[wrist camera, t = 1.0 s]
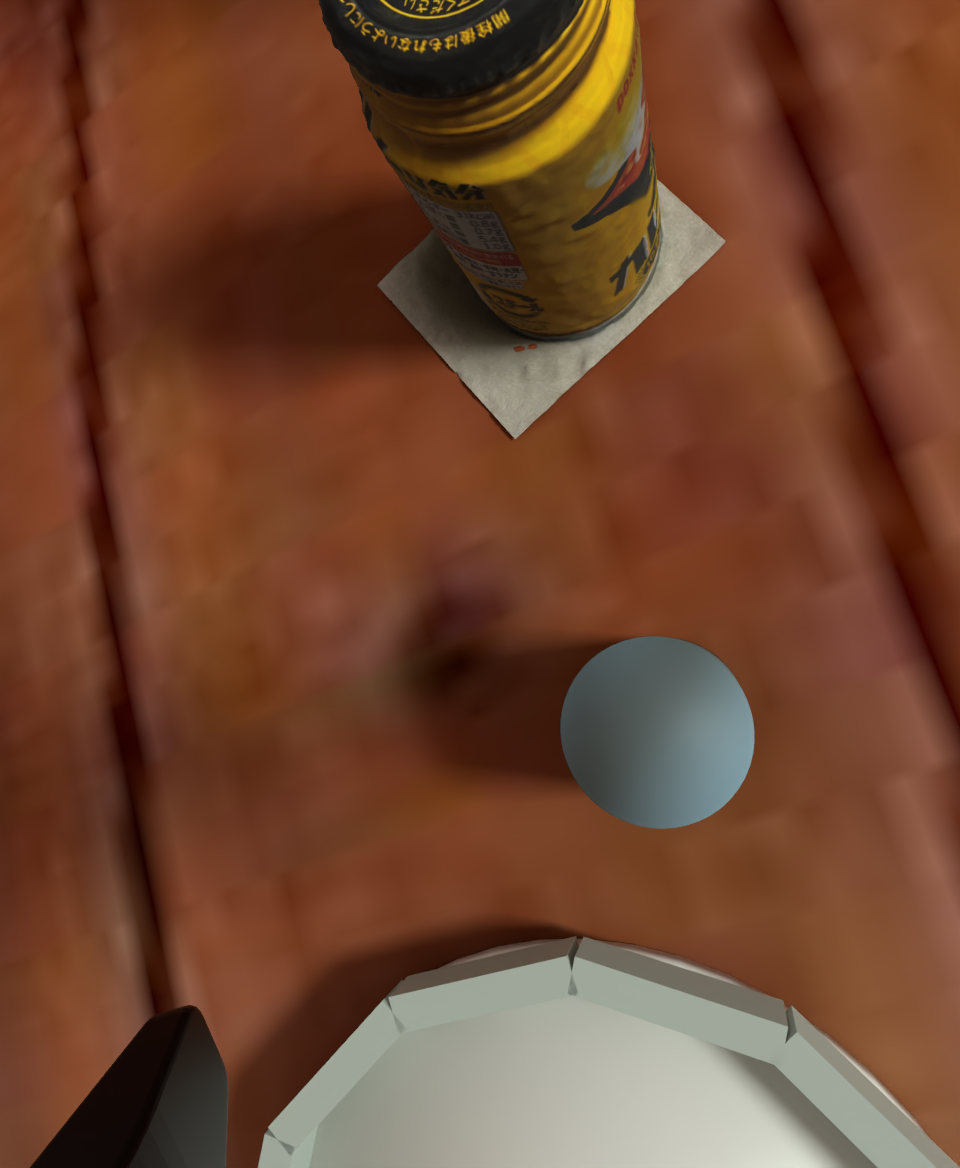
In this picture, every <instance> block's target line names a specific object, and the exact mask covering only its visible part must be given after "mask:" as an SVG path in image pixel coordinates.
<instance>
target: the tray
mask: <svg viewBox="0 0 960 1168" xmlns="http://www.w3.org/2000/svg"><path fill="white" fill-rule="evenodd" d="M268 1128H269V1130H268V1131H267V1132H266V1133H265V1135H264V1140H263V1145H262V1150H261V1155H260V1160H259V1165H258V1168H960V1167H959V1166H958V1165H957V1164H956V1163H955V1162H954V1161H953V1160H952V1159H951V1158H950V1157H948V1156H947V1155H946V1154H945V1153H944V1152H943V1151H942V1150H941V1149H940V1148H939V1147H938V1146H937V1145H936V1144H935V1143H934V1142H933V1141H932V1140H931V1139H930V1138H929V1137H928V1135H927V1134H926V1133H925V1131H924V1130H923V1129H922V1127H921V1126H920V1124H919V1123H918V1122H917V1120H916V1119H915V1118H914V1117H913V1116H912V1115H911V1113H910V1112H909V1111H908V1110H907V1109H906V1108H905V1107H904V1106H903V1105H902V1104H901V1103H900V1102H899V1101H898V1100H897V1099H896V1097H895V1096H894V1095H893V1094H892V1093H891V1092H890V1091H889V1090H888V1089H887V1088H886V1087H885V1086H884V1085H883V1084H882V1082H881V1081H880V1080H879V1079H878V1078H877V1077H876V1076H875V1075H874V1074H873V1073H872V1072H871V1071H870V1070H869V1069H868V1068H866V1067H865V1066H864V1065H863V1064H862V1063H861V1062H859V1061H858V1060H857V1059H856V1058H855V1057H854V1056H852V1055H851V1054H850V1053H849V1052H848V1051H847V1050H845V1049H844V1048H843V1047H842V1046H841V1045H840V1044H838V1043H837V1042H836V1041H835V1040H834V1039H833V1038H831V1037H830V1036H829V1035H828V1034H827V1033H825V1032H824V1031H822V1030H821V1029H820V1028H818V1027H817V1026H815V1025H814V1024H812V1023H811V1022H809V1021H808V1020H806V1019H805V1018H804V1017H803V1016H802V1015H801V1014H800V1013H799V1012H798V1011H797V1010H796V1009H795V1008H794V1007H793V1006H792V1005H791V1006H790V1007H787V1006H786V1005H784V1002H783V1000H780V999H777V998H774V997H771V996H769V995H767V994H765V993H763V992H761V991H759V990H757V989H756V988H754V987H752V986H750V985H748V984H746V983H744V982H742V981H740V980H739V979H737V978H735V977H733V976H731V975H729V974H726V973H723V972H721V971H718V970H716V969H713V968H710V967H708V966H705V965H703V964H700V963H697V962H695V961H692V960H690V959H687V958H684V957H682V956H678V955H674V954H670V953H666V952H662V951H658V950H654V949H650V948H646V947H642V946H638V945H634V944H627V943H619V942H610V941H601V940H593V939H590V938H587V937H583V939H577V937H576V936H574V937H570V938H566V939H541V940H534V941H528V942H522V943H515V944H509V945H503V946H497V947H494V948H491V949H488V950H484V951H481V952H478V953H475V954H472V955H469V956H466V957H462V958H459V959H456V960H454V961H452V962H450V963H448V964H446V965H444V966H442V967H440V968H438V969H435V970H431V971H427V972H422V973H418V974H414V975H410V976H407V977H406V979H405V980H404V981H403V980H401V981H400V982H399V983H398V984H397V985H396V987H395V988H394V989H393V990H392V991H391V992H390V993H389V994H388V995H387V996H386V997H385V998H384V999H383V1001H382V1002H381V1003H380V1004H379V1005H378V1006H377V1007H376V1008H375V1009H374V1011H373V1012H372V1013H371V1014H370V1015H369V1016H368V1017H367V1018H366V1019H365V1020H364V1022H363V1023H362V1024H361V1025H360V1026H359V1027H358V1028H357V1029H356V1030H355V1032H354V1033H353V1034H352V1035H351V1036H350V1037H349V1038H348V1039H347V1040H346V1041H345V1043H344V1044H343V1045H342V1046H341V1047H340V1048H339V1049H338V1050H337V1051H336V1053H335V1054H334V1055H333V1056H332V1057H331V1058H330V1059H329V1060H328V1061H327V1062H326V1064H325V1065H324V1066H323V1067H322V1068H321V1069H320V1070H319V1071H318V1072H317V1074H316V1075H315V1076H314V1077H313V1078H312V1079H311V1080H310V1081H309V1082H308V1084H307V1085H306V1086H305V1087H304V1088H303V1089H302V1090H301V1091H300V1092H299V1093H298V1095H297V1096H296V1097H295V1098H294V1099H293V1100H292V1101H291V1102H290V1103H289V1105H288V1106H287V1107H286V1108H285V1109H284V1110H283V1111H282V1112H281V1113H280V1114H279V1116H278V1117H277V1118H276V1119H275V1120H274V1121H273V1122H272V1123H271V1124H270V1126H269V1127H268Z"/></svg>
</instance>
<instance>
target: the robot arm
mask: <svg viewBox="0 0 960 1168" xmlns="http://www.w3.org/2000/svg"><path fill="white" fill-rule="evenodd" d="M227 1118H228V1080H227V1073H226V1069H225V1066H224V1063H223V1061H222V1058H221V1056H220V1054H219V1051H218V1049H217V1047H216V1044H215V1042H214V1040H213V1038H212V1035H211V1033H210V1031H209V1028H208V1026H207V1024H206V1022H205V1019H204V1017H203V1015H202V1013H201V1012H200V1010H199V1009H198V1008H197V1007H195V1006H191V1005H187V1006H184V1007H180V1008H177V1009H173V1010H170V1011H166V1012H163V1013H160V1014H157V1015H155V1016H153V1017H151V1018H150V1019H149V1020H148V1021H147V1022H146V1023H145V1024H144V1026H143V1027H142V1028H141V1029H140V1031H139V1032H138V1033H137V1034H136V1036H135V1037H134V1038H133V1039H132V1041H131V1042H130V1043H129V1044H128V1046H127V1047H126V1048H125V1049H124V1051H123V1052H122V1053H121V1054H120V1056H119V1057H118V1058H117V1059H116V1061H115V1062H114V1063H113V1064H112V1066H111V1067H110V1068H109V1069H108V1071H107V1072H106V1073H105V1074H104V1076H103V1077H102V1078H101V1079H100V1081H99V1082H98V1083H97V1084H96V1086H95V1087H94V1088H93V1089H92V1091H91V1092H90V1093H89V1094H88V1096H87V1097H86V1098H85V1099H84V1101H83V1102H82V1103H81V1104H80V1106H79V1107H78V1108H77V1109H76V1111H75V1112H74V1113H73V1114H72V1116H71V1117H70V1118H69V1119H68V1121H67V1122H66V1123H65V1124H64V1126H63V1127H62V1128H61V1129H60V1131H59V1132H58V1133H57V1134H56V1136H55V1137H54V1138H53V1139H52V1141H51V1142H50V1143H49V1144H48V1146H47V1147H46V1148H45V1149H44V1151H43V1152H42V1153H41V1154H40V1156H39V1157H38V1158H37V1159H36V1161H35V1162H34V1163H33V1164H32V1166H31V1167H30V1168H226V1148H227Z"/></svg>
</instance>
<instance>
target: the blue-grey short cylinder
mask: <svg viewBox="0 0 960 1168" xmlns="http://www.w3.org/2000/svg"><path fill="white" fill-rule="evenodd" d="M561 742H562V748H563V752H564V755H565V759H566V761H567V764H568V766H569V769H570V771H571V773H572V775H573V776H574V778H575V780H576V782H577V783H578V784H579V786H580V787H581V789H582V790H583V791H584V792H585V793H586V794H587V795H588V797H589V798H590V799H591V800H592V801H593V802H595V803H596V804H597V805H598V806H599V807H601V808H602V809H603V810H605V811H606V812H608V813H609V814H611V815H613V816H615V817H617V818H619V819H621V820H623V821H625V822H628V823H631V824H634V825H638V826H643V827H648V828H660V829H663V828H676V827H681V826H686V825H689V824H692V823H695V822H698V821H700V820H702V819H704V818H706V817H708V816H710V815H712V814H713V813H715V812H716V811H718V810H719V809H720V808H722V807H723V806H724V805H725V804H726V803H727V802H728V801H729V800H730V799H731V798H732V797H733V795H734V794H735V793H736V792H737V790H738V789H739V787H740V786H741V784H742V782H743V781H744V779H745V777H746V774H747V772H748V770H749V767H750V763H751V760H752V756H753V749H754V725H753V718H752V714H751V710H750V707H749V704H748V701H747V699H746V697H745V695H744V692H743V690H742V689H741V687H740V685H739V683H738V682H737V680H736V678H735V677H734V675H733V673H732V672H731V671H730V669H729V668H728V667H727V666H726V664H725V663H723V662H722V661H721V660H720V659H719V658H718V657H717V656H716V655H714V654H713V653H712V652H710V651H709V650H707V649H705V648H703V647H702V646H700V645H697V644H695V643H692V642H689V641H685V640H682V639H674V638H667V637H639V638H633V639H629V640H625V641H622V642H619V643H617V644H614V645H612V646H610V647H608V648H607V649H605V650H603V651H601V652H600V653H599V654H597V655H596V656H595V657H593V658H592V659H591V660H590V661H589V662H588V663H587V664H586V665H585V666H584V667H583V668H582V669H581V671H580V672H579V673H578V674H577V676H576V677H575V679H574V681H573V682H572V684H571V686H570V688H569V690H568V693H567V695H566V697H565V701H564V704H563V708H562V714H561Z"/></svg>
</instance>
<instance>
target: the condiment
mask: <svg viewBox="0 0 960 1168" xmlns="http://www.w3.org/2000/svg"><path fill="white" fill-rule="evenodd" d="M319 5H320V7H321V10H322V14H323V21H324V24H325V25H326V27H327V30H328V31H329V32H330V34H331V37H332V42H333V45H334V47H335V48H337V49H338V50H339V51H340V52H341V53H342V54H343V56H344V57H345V59H346V61H347V62H348V63H349V66H350V70H351V73H352V76H353V78H354V79H355V81H356V83H357V86H358V87H359V93H360V96H361V100H362V111H363V114H364V116H365V118H366V121H367V126H368V129H369V131H370V132H371V134H372V136H373V138H374V139H375V140H376V142H377V144H378V146H379V148H380V149H381V151H382V152H383V154H384V156H385V158H386V160H387V161H388V163H389V164H390V165H391V167H392V168H393V169H394V171H395V172H396V174H397V175H398V176H399V178H400V180H401V181H402V182H403V184H404V185H405V187H406V189H407V190H408V191H409V192H410V194H411V196H412V197H413V199H414V200H415V201H416V203H417V204H418V206H419V207H420V209H421V210H422V211H423V213H424V214H425V216H426V217H427V219H428V220H429V222H430V223H431V225H432V226H433V228H434V229H432V230H431V232H430V233H429V234H428V235H427V237H426V238H425V239H424V240H423V241H422V242H420V243H419V244H418V246H417V247H416V248H415V249H414V250H413V251H411V252H410V253H409V254H408V255H407V256H405V257H404V258H403V259H402V260H401V261H400V262H398V263H397V264H396V265H395V266H394V268H393V269H392V270H391V271H390V272H389V273H388V274H387V275H386V276H385V277H384V278H383V279H382V280H381V281H380V282H379V284H378V285H377V286H378V287H379V288H380V289H381V290H382V291H383V293H384V294H385V295H386V296H387V297H388V298H389V299H390V300H391V301H392V302H393V304H394V305H395V306H396V307H397V308H398V309H399V310H400V311H401V313H402V314H403V315H404V316H405V317H406V318H407V319H408V320H409V321H410V323H411V324H412V325H413V326H414V327H415V328H416V329H417V330H418V331H419V332H420V333H421V335H422V336H423V337H424V338H425V340H426V341H427V342H428V343H429V344H430V345H431V346H432V347H433V348H434V349H435V350H436V351H437V353H438V354H439V355H440V356H441V357H442V358H443V359H444V360H445V362H446V363H447V364H448V365H449V366H450V367H451V368H452V369H453V370H454V372H455V373H457V374H458V376H459V377H460V378H461V379H462V380H463V382H464V383H465V384H466V385H467V386H468V387H469V388H470V389H471V390H472V392H473V393H474V394H475V395H476V396H477V397H478V398H479V399H480V401H481V402H482V403H483V404H484V405H485V406H486V407H487V408H488V409H489V411H490V412H491V413H492V414H493V415H494V416H495V417H496V418H497V419H498V421H499V422H500V423H501V424H502V425H503V426H504V427H505V428H506V430H507V431H508V432H509V433H510V434H511V435H512V436H513V437H514V438H515V439H516V438H517V437H518V436H519V435H520V434H521V433H522V432H524V431H525V430H526V429H527V428H528V427H529V426H530V425H531V423H532V422H534V421H535V420H536V419H537V418H538V417H539V416H540V415H541V414H543V413H544V412H545V411H546V410H547V409H548V408H549V407H550V406H551V405H552V404H554V403H555V401H556V400H557V399H558V398H559V397H560V396H561V395H562V394H563V393H564V392H565V391H567V390H568V389H569V388H570V387H571V386H572V385H573V384H574V383H575V382H577V381H578V380H579V379H580V378H581V377H582V376H583V375H584V374H585V373H586V372H587V371H588V370H589V369H590V368H591V367H593V366H594V365H595V364H596V363H597V362H598V361H599V360H600V359H601V358H602V357H604V356H605V355H606V354H607V353H608V352H609V351H610V350H611V349H613V348H614V347H615V346H616V345H617V344H618V343H620V342H621V341H622V340H623V339H624V338H625V337H626V336H627V335H628V334H629V333H631V332H632V331H633V330H634V329H635V328H636V327H637V326H638V325H639V324H640V323H641V322H642V321H643V320H644V319H645V318H646V317H647V316H648V315H649V314H651V313H652V312H653V311H654V310H655V309H656V308H657V307H658V306H659V305H660V304H661V303H662V302H663V301H665V300H666V299H667V298H668V297H669V296H670V295H671V294H672V293H673V292H675V291H676V290H677V289H678V288H679V287H680V286H681V285H682V284H683V283H684V282H685V281H686V280H687V279H688V278H689V277H690V276H691V275H692V274H693V273H695V272H696V271H697V270H698V269H699V268H700V267H701V266H702V265H703V264H704V263H705V262H706V261H707V260H708V259H709V258H710V257H711V256H712V255H713V254H714V253H715V252H716V251H717V250H718V249H719V248H720V247H721V246H722V245H723V244H724V243H725V242H726V241H725V240H724V239H723V238H721V237H720V236H719V235H718V234H717V233H716V232H715V231H714V230H713V229H712V228H710V227H709V226H708V225H707V224H706V223H705V222H704V221H703V220H702V219H701V218H700V217H699V216H698V215H696V214H695V213H694V212H693V211H692V210H691V209H690V208H689V207H688V206H686V205H685V204H684V203H682V202H681V201H680V200H679V199H678V198H677V197H676V196H675V195H674V194H672V193H671V192H670V191H669V190H668V189H667V188H666V187H665V186H664V185H663V184H662V183H661V182H660V181H658V180H657V176H656V168H655V161H654V148H653V143H652V140H651V133H650V121H649V116H648V106H647V101H646V95H645V84H644V75H643V68H642V57H641V47H640V39H641V38H640V29H639V25H638V20H637V16H636V5H635V1H634V0H319ZM529 344H536V346H537V348H536V349H529V348H528V346H529ZM517 346H524V347H525V349H524V351H520V352H516V351H515V350H514V347H517Z"/></svg>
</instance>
